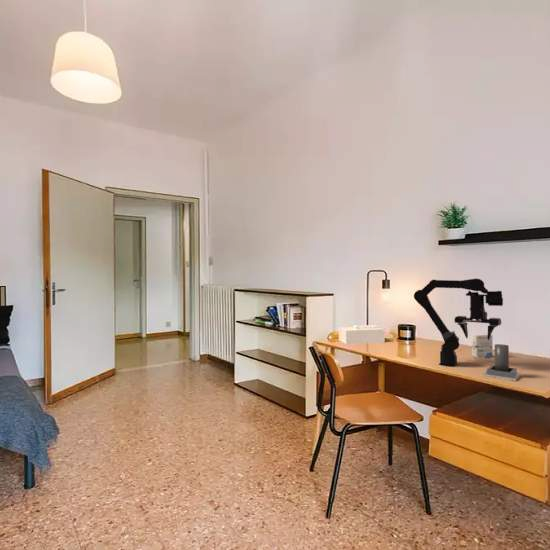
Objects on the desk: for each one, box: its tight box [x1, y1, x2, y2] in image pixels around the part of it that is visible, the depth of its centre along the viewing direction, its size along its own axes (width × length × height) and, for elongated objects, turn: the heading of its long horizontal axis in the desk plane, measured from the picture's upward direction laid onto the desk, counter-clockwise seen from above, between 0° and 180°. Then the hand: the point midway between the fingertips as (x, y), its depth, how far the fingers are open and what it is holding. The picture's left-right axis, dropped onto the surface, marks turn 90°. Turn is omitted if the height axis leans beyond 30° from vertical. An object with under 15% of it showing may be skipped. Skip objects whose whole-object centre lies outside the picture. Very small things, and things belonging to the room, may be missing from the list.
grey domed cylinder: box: [494, 343, 510, 372], centre depth 168 cm, size 5×5×12 cm
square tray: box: [482, 364, 522, 382], centre depth 168 cm, size 12×11×3 cm
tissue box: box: [338, 324, 386, 345], centre depth 252 cm, size 14×25×11 cm, turn 99°
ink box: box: [471, 333, 493, 359], centre depth 204 cm, size 9×5×12 cm, turn 92°
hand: (477, 339), depth 183 cm, fingers open, 9 cm apart
